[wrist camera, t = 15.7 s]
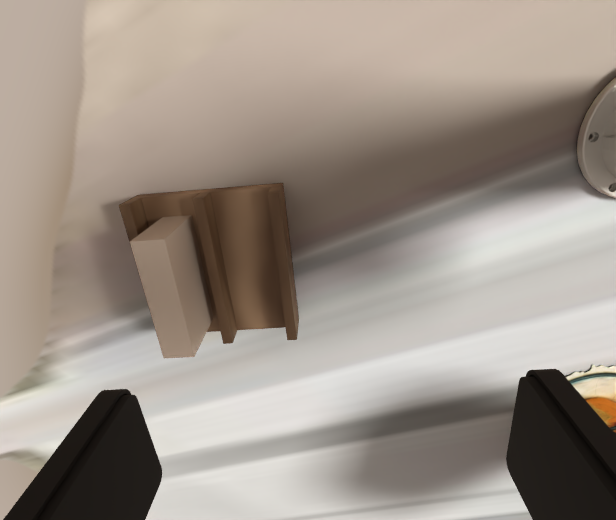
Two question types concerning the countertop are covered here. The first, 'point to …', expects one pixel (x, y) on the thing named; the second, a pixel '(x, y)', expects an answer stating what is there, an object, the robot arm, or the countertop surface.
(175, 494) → the countertop surface
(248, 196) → the walnut rack
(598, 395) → the decorative vase
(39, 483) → the robot arm
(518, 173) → the countertop surface
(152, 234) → the beige rectangular block
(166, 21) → the countertop surface
